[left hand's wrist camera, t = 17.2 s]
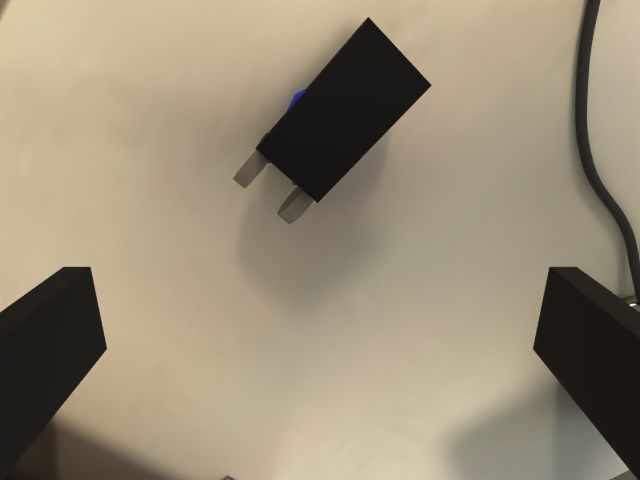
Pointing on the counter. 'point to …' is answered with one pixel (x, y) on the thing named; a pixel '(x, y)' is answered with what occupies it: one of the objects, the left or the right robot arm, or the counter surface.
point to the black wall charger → (337, 118)
